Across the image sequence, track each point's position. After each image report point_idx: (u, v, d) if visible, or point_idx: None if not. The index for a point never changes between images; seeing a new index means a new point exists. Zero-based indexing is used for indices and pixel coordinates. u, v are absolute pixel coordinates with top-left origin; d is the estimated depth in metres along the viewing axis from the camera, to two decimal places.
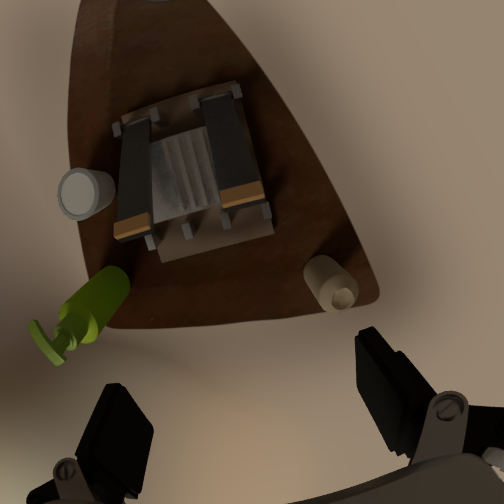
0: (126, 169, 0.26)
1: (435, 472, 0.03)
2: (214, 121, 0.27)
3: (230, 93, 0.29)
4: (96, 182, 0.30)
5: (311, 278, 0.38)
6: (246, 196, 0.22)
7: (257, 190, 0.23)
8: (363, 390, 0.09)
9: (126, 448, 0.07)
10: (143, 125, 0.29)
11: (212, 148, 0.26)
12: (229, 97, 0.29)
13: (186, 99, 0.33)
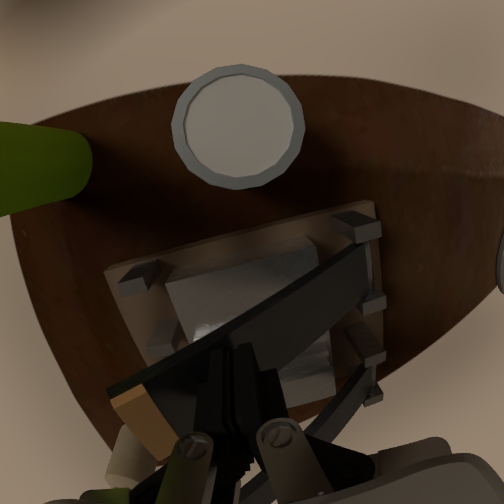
0: (282, 318, 0.13)
1: (435, 472, 0.03)
2: (342, 409, 0.17)
3: (372, 390, 0.20)
4: (262, 183, 0.14)
5: (133, 450, 0.23)
6: None
7: None
8: None
9: None
10: (360, 289, 0.17)
11: None
12: (367, 394, 0.20)
13: None
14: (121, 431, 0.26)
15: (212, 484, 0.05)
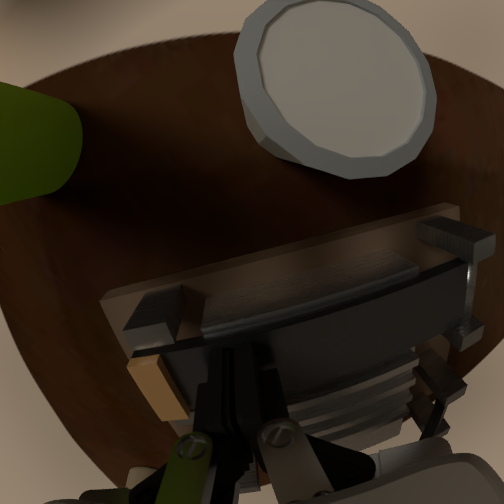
0: (328, 333, 0.10)
1: (435, 472, 0.03)
2: None
3: (438, 425, 0.14)
4: (388, 171, 0.08)
5: None
6: None
7: None
8: None
9: None
10: (449, 317, 0.11)
11: None
12: (435, 430, 0.14)
13: None
14: (131, 476, 0.20)
15: (212, 484, 0.05)
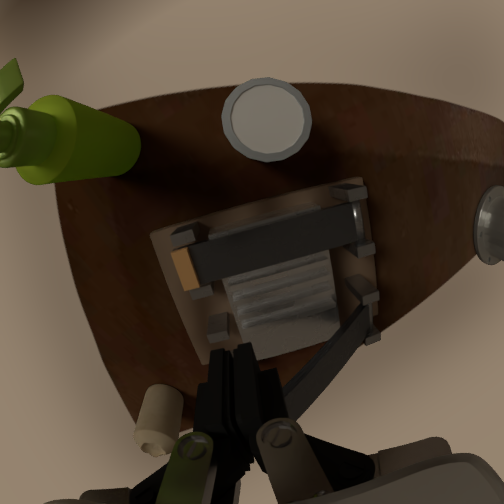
0: (268, 235, 0.23)
1: (435, 472, 0.03)
2: (348, 337, 0.23)
3: (370, 330, 0.27)
4: (284, 157, 0.20)
5: (160, 407, 0.29)
6: None
7: None
8: None
9: None
10: (345, 235, 0.24)
11: (322, 359, 0.20)
12: (367, 332, 0.26)
13: (367, 264, 0.29)
14: (147, 392, 0.32)
15: (212, 484, 0.05)
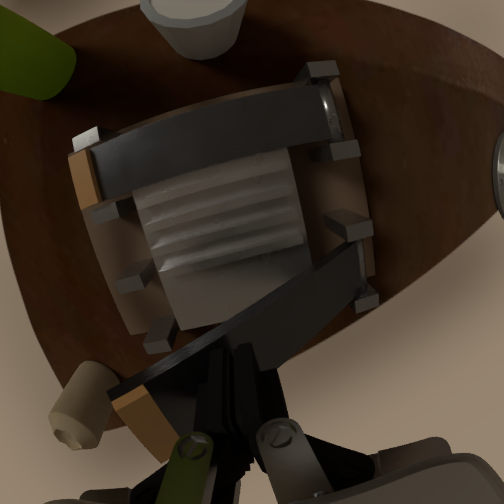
0: (192, 124, 0.14)
1: (435, 472, 0.03)
2: (319, 286, 0.15)
3: (363, 290, 0.18)
4: (211, 22, 0.11)
5: (83, 387, 0.21)
6: (147, 444, 0.08)
7: (165, 453, 0.08)
8: None
9: None
10: (311, 129, 0.15)
11: (260, 314, 0.12)
12: (357, 291, 0.17)
13: (355, 196, 0.20)
14: (76, 370, 0.24)
15: (212, 484, 0.05)
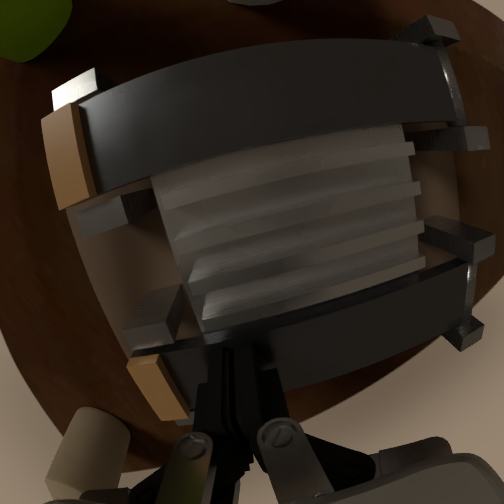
0: (270, 65, 0.08)
1: (435, 472, 0.03)
2: (396, 310, 0.10)
3: (463, 323, 0.11)
4: None
5: (84, 446, 0.14)
6: (150, 401, 0.10)
7: (166, 414, 0.11)
8: None
9: None
10: (436, 102, 0.08)
11: (302, 325, 0.10)
12: (454, 323, 0.11)
13: (449, 200, 0.13)
14: (73, 418, 0.17)
15: (211, 484, 0.05)
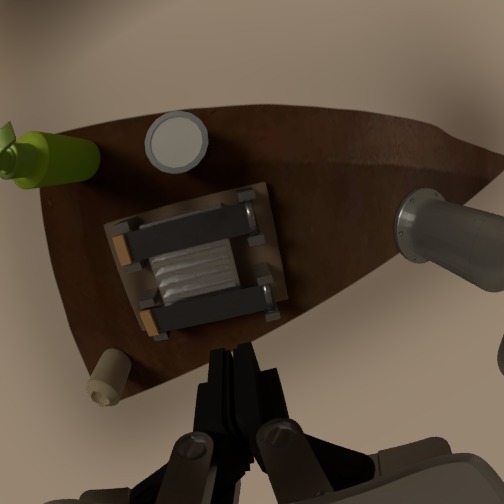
0: (179, 226, 0.31)
1: (435, 472, 0.03)
2: (227, 299, 0.34)
3: (268, 309, 0.35)
4: (186, 170, 0.28)
5: (109, 364, 0.36)
6: (146, 327, 0.33)
7: (151, 333, 0.33)
8: None
9: None
10: (239, 228, 0.32)
11: (193, 301, 0.33)
12: (262, 309, 0.35)
13: (273, 254, 0.37)
14: (102, 354, 0.39)
15: (212, 484, 0.05)
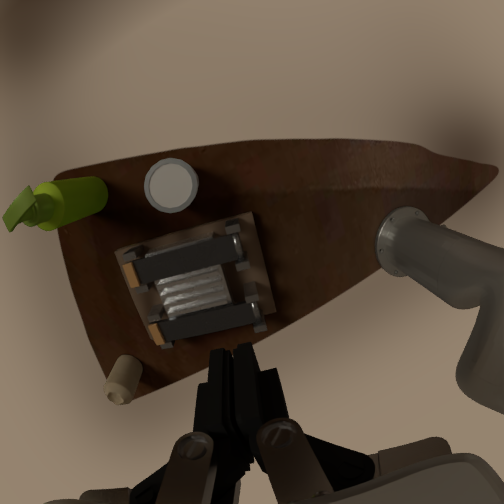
0: (177, 255, 0.37)
1: (435, 472, 0.03)
2: (221, 314, 0.40)
3: (256, 322, 0.40)
4: (180, 210, 0.34)
5: (123, 369, 0.43)
6: (154, 337, 0.39)
7: (158, 342, 0.40)
8: None
9: None
10: (228, 256, 0.37)
11: (192, 316, 0.39)
12: (251, 322, 0.40)
13: (261, 274, 0.42)
14: (117, 360, 0.46)
15: (212, 484, 0.05)
